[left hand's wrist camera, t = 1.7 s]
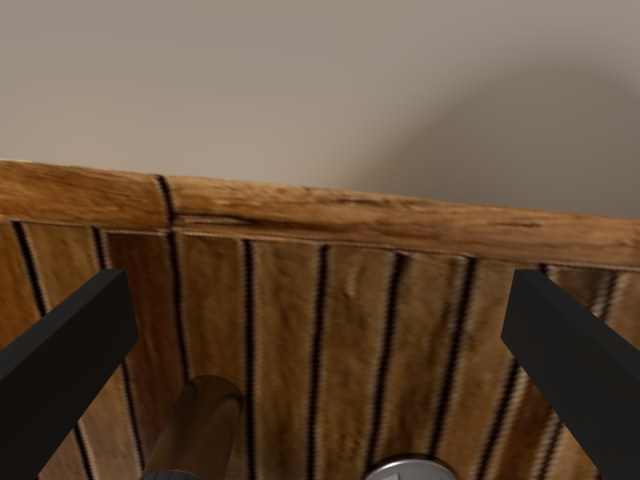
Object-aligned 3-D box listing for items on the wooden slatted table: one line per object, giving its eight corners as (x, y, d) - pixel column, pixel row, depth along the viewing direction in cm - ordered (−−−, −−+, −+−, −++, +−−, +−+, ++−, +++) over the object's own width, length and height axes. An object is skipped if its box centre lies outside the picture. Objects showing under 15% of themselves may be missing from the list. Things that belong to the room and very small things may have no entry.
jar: (177, 418, 52) (123, 542, 37) (182, 370, 49) (125, 485, 34) (238, 428, 52) (207, 554, 38) (247, 381, 49) (217, 498, 35)
